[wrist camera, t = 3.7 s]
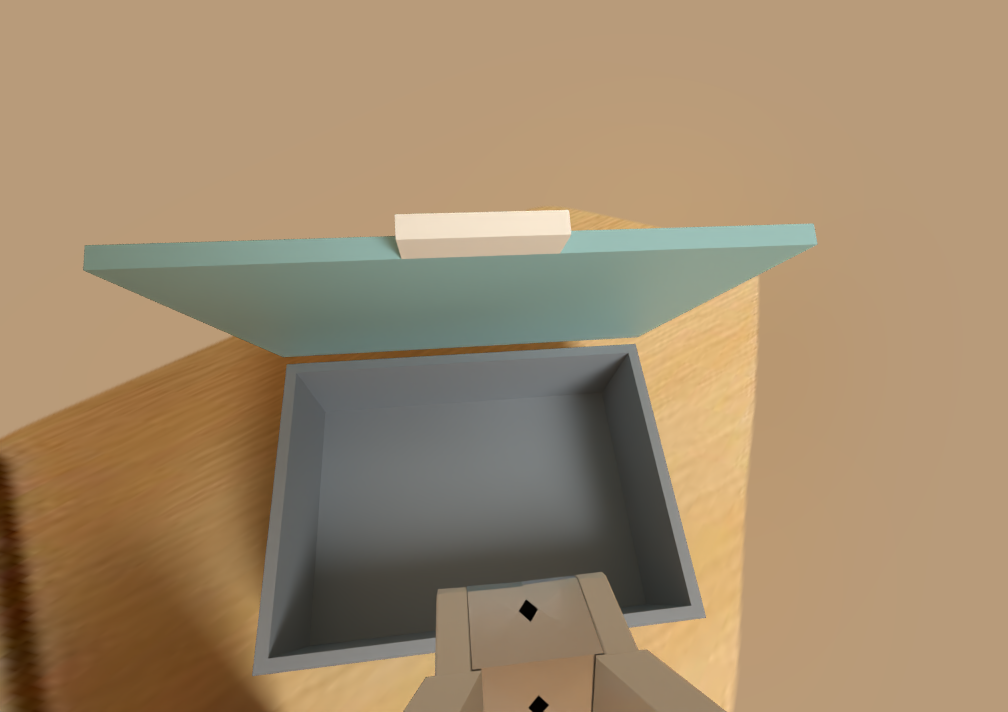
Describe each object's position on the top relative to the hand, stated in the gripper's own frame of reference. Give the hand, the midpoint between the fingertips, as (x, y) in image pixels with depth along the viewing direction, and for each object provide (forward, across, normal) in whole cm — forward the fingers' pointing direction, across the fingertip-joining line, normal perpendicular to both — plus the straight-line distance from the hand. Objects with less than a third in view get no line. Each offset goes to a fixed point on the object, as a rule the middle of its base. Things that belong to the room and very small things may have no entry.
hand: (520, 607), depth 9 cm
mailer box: (+16, 0, +9) cm, 19 cm away
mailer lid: (+11, 0, -3) cm, 11 cm away
